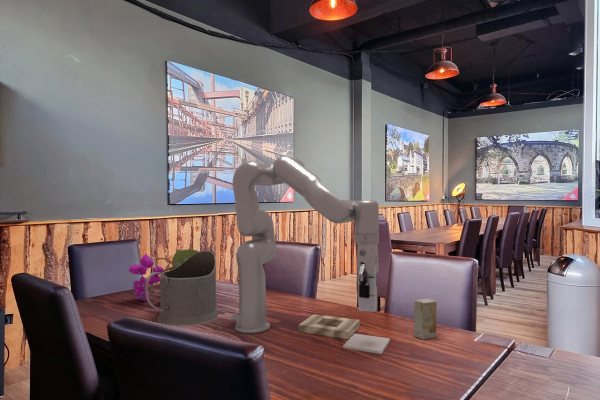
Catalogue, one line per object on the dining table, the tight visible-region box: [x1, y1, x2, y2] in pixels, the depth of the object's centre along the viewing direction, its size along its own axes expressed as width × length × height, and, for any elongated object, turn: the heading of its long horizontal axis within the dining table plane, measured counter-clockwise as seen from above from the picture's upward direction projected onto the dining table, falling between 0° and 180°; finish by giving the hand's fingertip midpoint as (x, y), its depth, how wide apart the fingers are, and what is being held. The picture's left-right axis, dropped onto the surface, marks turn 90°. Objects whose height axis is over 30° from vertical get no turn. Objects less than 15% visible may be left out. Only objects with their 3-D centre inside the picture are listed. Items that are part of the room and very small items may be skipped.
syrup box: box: [357, 265, 379, 313], centre depth 126 cm, size 6×6×14 cm
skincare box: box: [413, 298, 437, 340], centre depth 133 cm, size 6×4×12 cm
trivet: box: [342, 333, 391, 355], centre depth 126 cm, size 12×12×1 cm
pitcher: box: [145, 250, 220, 327], centre depth 153 cm, size 23×32×25 cm
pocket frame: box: [298, 313, 361, 340], centre depth 141 cm, size 18×14×2 cm
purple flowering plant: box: [128, 248, 201, 302], centre depth 186 cm, size 30×28×35 cm
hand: (367, 294), depth 126 cm, fingers closed on syrup box, 6 cm apart
